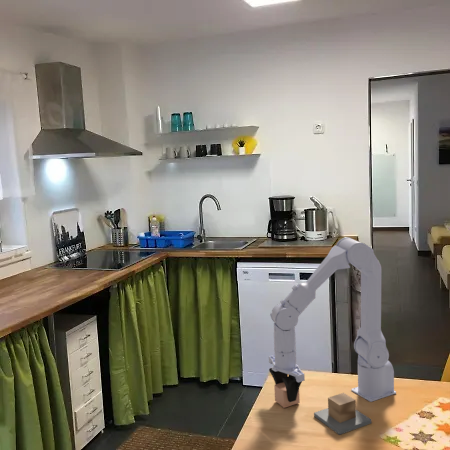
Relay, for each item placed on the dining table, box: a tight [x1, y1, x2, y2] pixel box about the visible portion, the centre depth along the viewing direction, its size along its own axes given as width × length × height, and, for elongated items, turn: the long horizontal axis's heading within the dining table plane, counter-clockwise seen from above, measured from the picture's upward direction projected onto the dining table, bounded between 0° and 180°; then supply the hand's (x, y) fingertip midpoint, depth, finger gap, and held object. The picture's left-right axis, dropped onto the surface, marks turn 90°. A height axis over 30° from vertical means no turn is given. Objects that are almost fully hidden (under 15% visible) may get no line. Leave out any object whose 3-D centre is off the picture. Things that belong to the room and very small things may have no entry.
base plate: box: [313, 407, 372, 436], centre depth 125 cm, size 10×10×1 cm
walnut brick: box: [327, 392, 357, 423], centre depth 125 cm, size 5×4×5 cm
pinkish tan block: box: [273, 382, 301, 408], centre depth 135 cm, size 5×4×5 cm
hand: (287, 396), depth 135 cm, fingers closed on pinkish tan block, 4 cm apart
